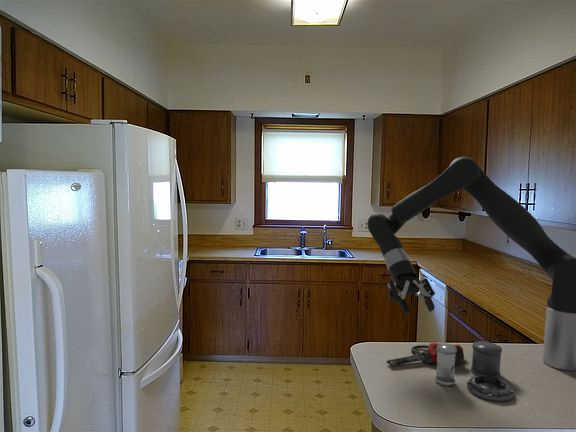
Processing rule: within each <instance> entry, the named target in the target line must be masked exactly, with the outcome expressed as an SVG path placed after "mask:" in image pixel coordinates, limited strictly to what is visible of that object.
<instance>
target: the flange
mask: <svg viewBox="0 0 576 432" xmlns="http://www.w3.org/2000/svg"><path fill="white" fill-rule="evenodd" d="M466 381H467V382H466V389H467V390H468V392H469V393H470V394H472V395H473V396H475V397H477V398H479V399H482V400H484V401H488V402H492V403H493V402H495V403H507V402H511V401H512V400H513V399H514V388H513V389H512V387H511V385H510V382H509V383H508V382H507V381H505V380H503V379H501V377H500V378H497V377H494V376H489V375H484V374H483V375H482V374H481V375H475V374H474V375H471V376H470V379H468V380H466Z"/></svg>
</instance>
